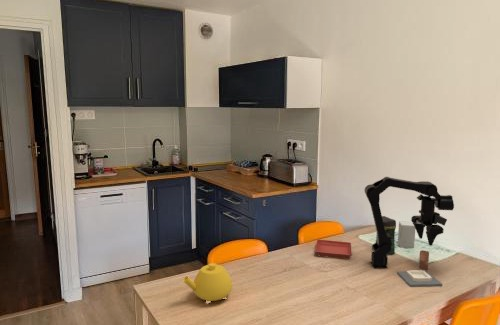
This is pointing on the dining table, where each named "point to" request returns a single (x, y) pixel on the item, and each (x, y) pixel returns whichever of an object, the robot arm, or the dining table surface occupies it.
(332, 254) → the plant saucer
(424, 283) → the board
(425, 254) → the terracotta pin
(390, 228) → the coffee jar
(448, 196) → the robot arm
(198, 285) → the teapot
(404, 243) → the supplement box
